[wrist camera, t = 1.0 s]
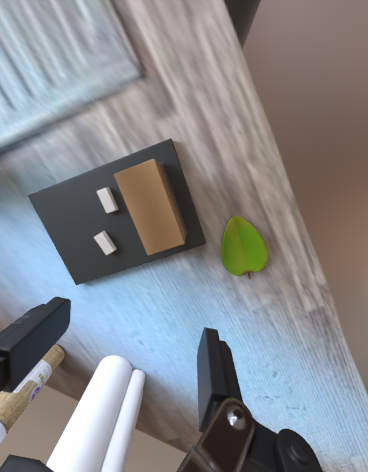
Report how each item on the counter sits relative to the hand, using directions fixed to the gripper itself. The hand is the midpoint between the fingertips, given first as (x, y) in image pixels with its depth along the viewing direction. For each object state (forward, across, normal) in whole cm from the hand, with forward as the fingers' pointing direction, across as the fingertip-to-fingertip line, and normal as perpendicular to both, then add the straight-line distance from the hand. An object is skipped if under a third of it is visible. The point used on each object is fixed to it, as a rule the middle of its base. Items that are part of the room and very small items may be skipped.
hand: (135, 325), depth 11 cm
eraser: (+17, +2, -5) cm, 18 cm away
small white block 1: (+17, +10, -4) cm, 20 cm away
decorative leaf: (+18, -11, -1) cm, 21 cm away
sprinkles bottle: (+18, +18, +26) cm, 37 cm away
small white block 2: (+17, +9, +2) cm, 19 cm away
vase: (+18, +4, +29) cm, 34 cm away
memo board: (+18, +8, -2) cm, 20 cm away
